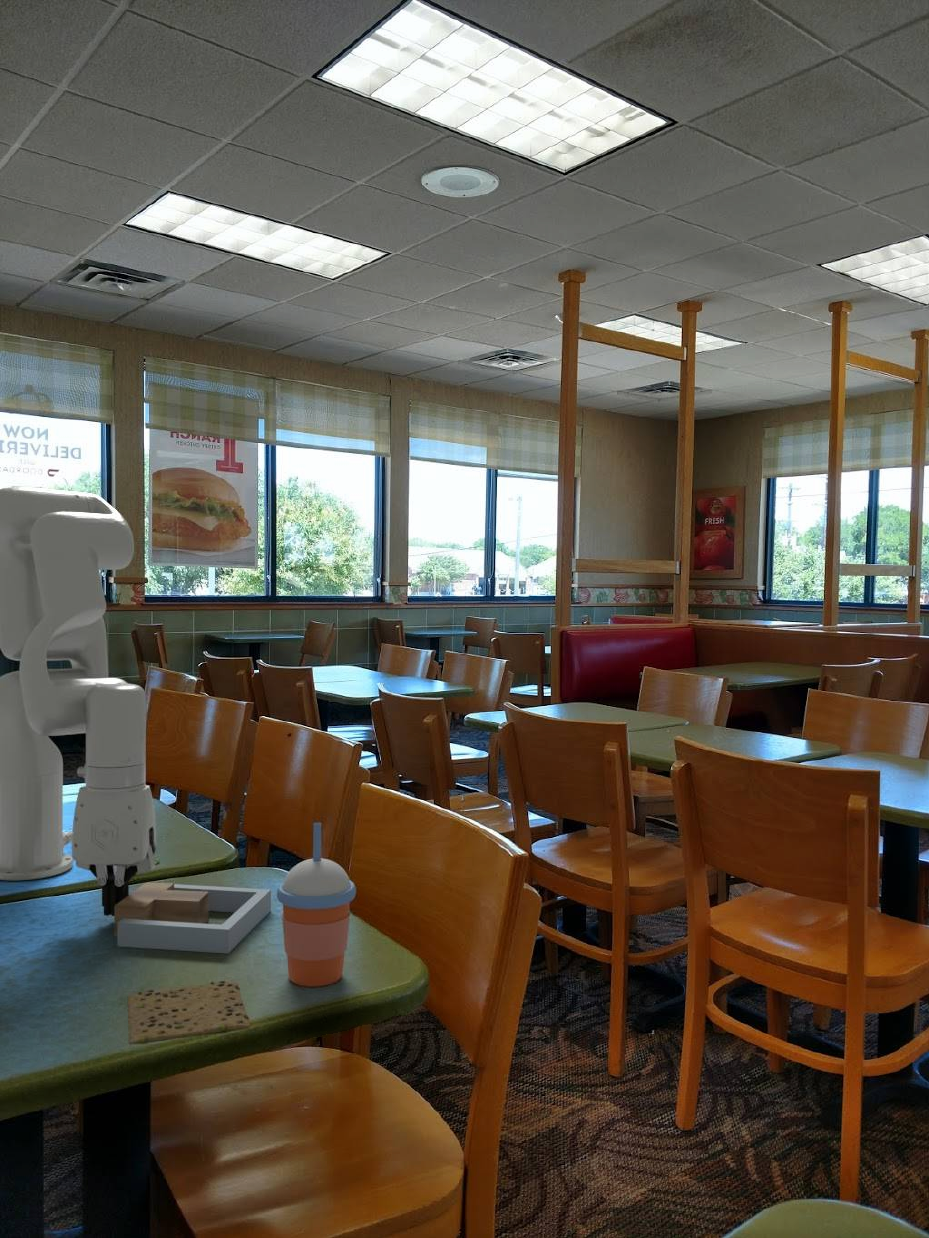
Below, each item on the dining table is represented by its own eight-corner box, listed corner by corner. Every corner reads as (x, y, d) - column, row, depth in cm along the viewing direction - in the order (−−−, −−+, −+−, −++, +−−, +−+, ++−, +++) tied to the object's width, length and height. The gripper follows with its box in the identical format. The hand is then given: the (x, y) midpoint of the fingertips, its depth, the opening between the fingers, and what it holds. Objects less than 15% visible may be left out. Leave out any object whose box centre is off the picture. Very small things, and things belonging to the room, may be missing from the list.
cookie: (125, 999, 105) (125, 990, 105) (237, 985, 110) (237, 977, 110) (127, 1049, 94) (127, 1039, 94) (251, 1032, 98) (251, 1022, 98)
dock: (172, 904, 136) (172, 883, 136) (270, 910, 134) (271, 889, 134) (117, 946, 120) (117, 922, 120) (228, 953, 118) (228, 929, 118)
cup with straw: (349, 994, 107) (350, 834, 106) (268, 992, 107) (269, 832, 106) (359, 962, 116) (361, 815, 115) (284, 960, 116) (286, 813, 116)
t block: (145, 910, 133) (146, 882, 133) (216, 913, 132) (216, 884, 132) (114, 936, 123) (114, 905, 123) (190, 939, 122) (190, 908, 122)
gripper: (47, 779, 125) (47, 918, 125) (156, 784, 123) (155, 925, 123) (78, 769, 132) (78, 900, 133) (181, 773, 130) (180, 906, 131)
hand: (115, 912), depth 128 cm, fingers closed
